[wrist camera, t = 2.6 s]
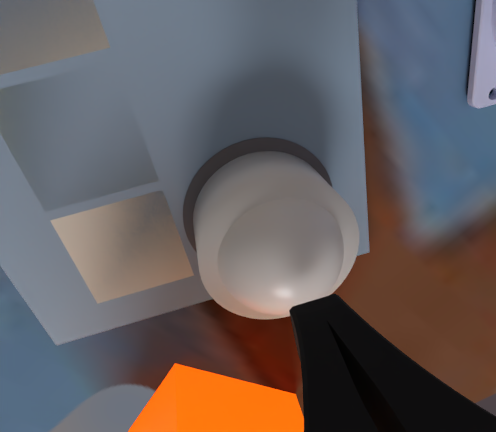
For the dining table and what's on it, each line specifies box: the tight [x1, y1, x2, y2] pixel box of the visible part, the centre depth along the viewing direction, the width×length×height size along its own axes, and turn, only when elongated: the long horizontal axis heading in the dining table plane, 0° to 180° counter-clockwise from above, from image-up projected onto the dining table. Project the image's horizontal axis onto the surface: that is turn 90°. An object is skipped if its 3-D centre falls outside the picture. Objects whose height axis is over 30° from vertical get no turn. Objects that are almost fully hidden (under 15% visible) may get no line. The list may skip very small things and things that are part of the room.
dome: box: [193, 151, 359, 319], centre depth 14 cm, size 6×6×5 cm
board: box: [0, 0, 369, 346], centre depth 13 cm, size 16×22×1 cm
